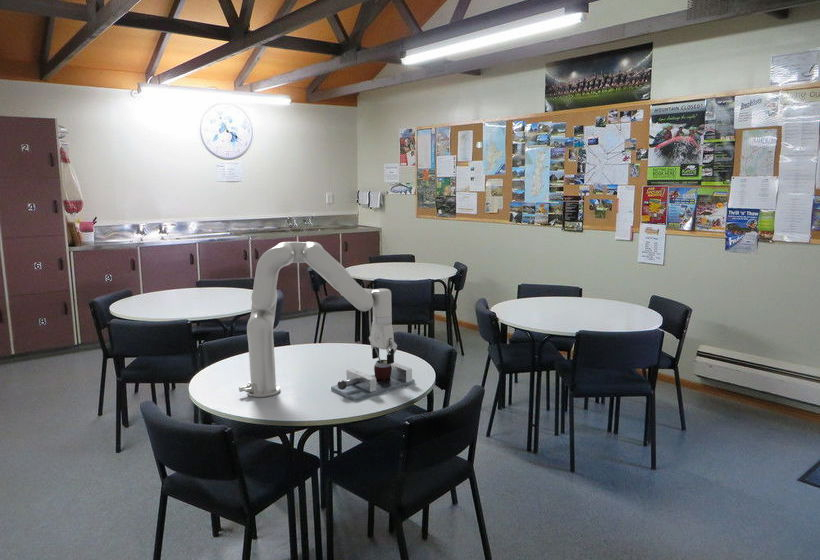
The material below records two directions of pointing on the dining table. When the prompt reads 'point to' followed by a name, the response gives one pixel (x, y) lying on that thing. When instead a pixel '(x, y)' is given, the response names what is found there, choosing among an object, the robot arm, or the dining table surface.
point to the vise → (379, 384)
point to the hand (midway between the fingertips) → (383, 360)
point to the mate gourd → (382, 369)
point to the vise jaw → (358, 380)
